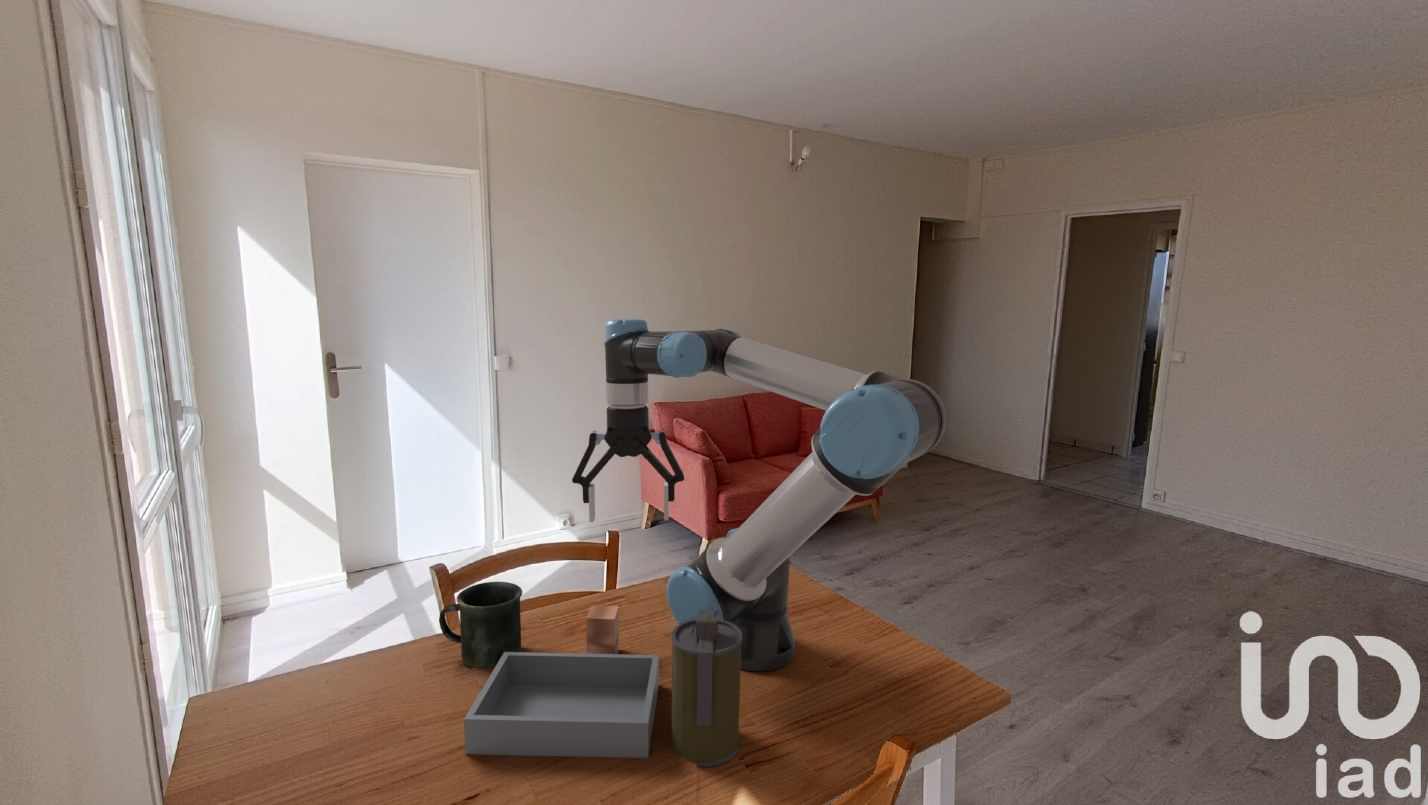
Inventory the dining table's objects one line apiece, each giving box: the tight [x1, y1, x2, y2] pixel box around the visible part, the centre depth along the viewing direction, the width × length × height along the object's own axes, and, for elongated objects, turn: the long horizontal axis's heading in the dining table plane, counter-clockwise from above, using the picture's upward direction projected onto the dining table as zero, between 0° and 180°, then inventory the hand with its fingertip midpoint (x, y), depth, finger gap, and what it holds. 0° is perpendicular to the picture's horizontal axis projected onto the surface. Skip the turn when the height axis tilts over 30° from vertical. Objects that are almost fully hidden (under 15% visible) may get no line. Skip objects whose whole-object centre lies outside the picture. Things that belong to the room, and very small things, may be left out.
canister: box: [670, 610, 743, 768], centre depth 96 cm, size 11×10×20 cm
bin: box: [463, 651, 660, 759], centre depth 102 cm, size 26×18×6 cm
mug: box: [438, 581, 523, 668], centre depth 120 cm, size 11×15×12 cm
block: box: [585, 605, 620, 654], centre depth 120 cm, size 5×5×9 cm
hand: (629, 519), depth 122 cm, fingers open, 13 cm apart
